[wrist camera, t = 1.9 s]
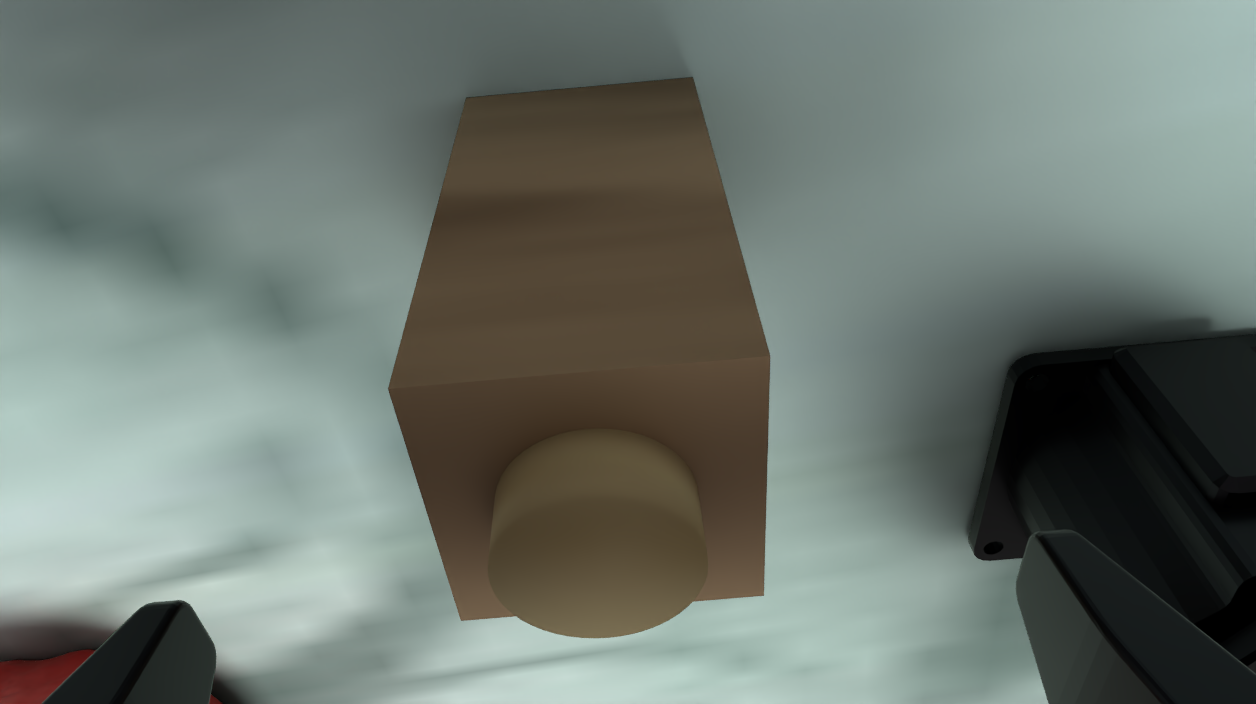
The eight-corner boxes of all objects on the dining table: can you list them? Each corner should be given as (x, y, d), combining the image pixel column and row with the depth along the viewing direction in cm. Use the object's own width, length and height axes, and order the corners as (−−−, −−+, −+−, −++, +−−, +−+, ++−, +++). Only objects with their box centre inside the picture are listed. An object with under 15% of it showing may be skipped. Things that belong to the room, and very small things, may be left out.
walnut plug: (699, 270, 18) (776, 663, 11) (502, 287, 18) (452, 690, 11) (692, 77, 16) (787, 419, 8) (466, 97, 16) (370, 455, 8)
